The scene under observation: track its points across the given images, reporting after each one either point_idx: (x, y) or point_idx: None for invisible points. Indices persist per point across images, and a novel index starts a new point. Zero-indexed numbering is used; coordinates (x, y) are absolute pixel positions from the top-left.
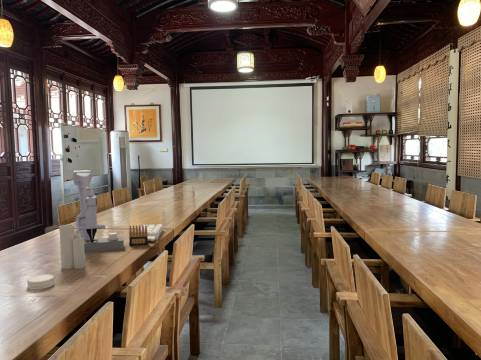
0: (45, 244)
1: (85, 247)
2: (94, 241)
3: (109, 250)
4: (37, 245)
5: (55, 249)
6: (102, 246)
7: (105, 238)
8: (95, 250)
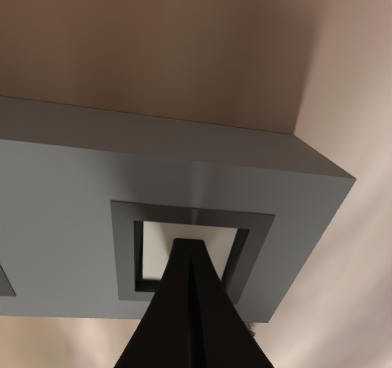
0: (354, 359)
1: (280, 152)
2: (160, 267)
3: (16, 98)
4: (383, 357)
5: (371, 295)
6: (67, 121)
7: (40, 309)
8: (166, 122)
